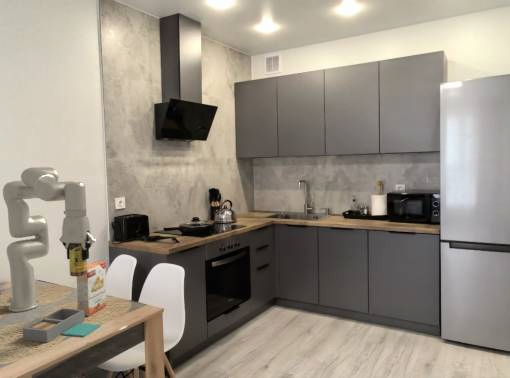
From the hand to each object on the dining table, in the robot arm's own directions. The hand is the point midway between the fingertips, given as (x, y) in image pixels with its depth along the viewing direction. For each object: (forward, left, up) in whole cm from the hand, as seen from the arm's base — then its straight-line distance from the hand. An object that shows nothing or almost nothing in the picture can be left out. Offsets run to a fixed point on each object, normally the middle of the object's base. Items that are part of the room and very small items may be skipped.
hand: (78, 258), depth 155 cm
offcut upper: (-11, -7, -28) cm, 30 cm away
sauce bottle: (0, 0, -7) cm, 7 cm away
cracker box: (-9, +20, -30) cm, 37 cm away
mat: (0, 0, -29) cm, 29 cm away
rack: (-11, -2, -29) cm, 31 cm away
